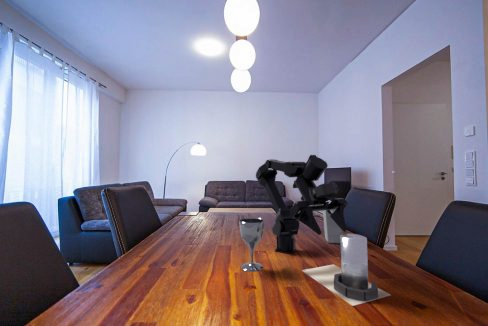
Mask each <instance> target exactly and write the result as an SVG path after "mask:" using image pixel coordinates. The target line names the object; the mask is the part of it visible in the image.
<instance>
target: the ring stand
mask: <svg viewBox="0 0 488 326" xmlns="http://www.w3.org/2000/svg"><path fill="white" fill-rule="evenodd" d="M301 272H303V273H304V274H305V275H307V276H308V277H310V278H312V279H313V280H315V281H316V282H317V283H319V284H320V285H322V286H323V287H325V288H326V289H328V290H329V291H330V292H332V293H333V294H334V295H336V296H337V297H339V298H340V299H342V300H343V301H345V302H346V303H347V304H349V305H350V306H352V307H354V306H358V305H361V304H365V303H369V302H372V301H375V300H378V299H379V300H380V299H382V298H386V297H390V296H391V294H390V293H389V292H387V291H384V289H381V288H378V284H377V282H376V281H370V282H368V289H365V290H360V289H355V288H350V287H347V286H345V285H344V284H342V275H341V267H339V266H337V265H335V264H334V263H333V264H329V265H328V264H327V265H323V266H319V267H318V266H317V267H313V268H306V269H302V270H301Z"/></svg>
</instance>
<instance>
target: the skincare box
mask: <svg viewBox="0 0 488 326" xmlns="http://www.w3.org/2000/svg"><path fill="white" fill-rule="evenodd" d="M330 215H331V214H329V213H328V212H327V210H324V211H322V216H323V228H324V239H325V241H327V243H329V244H341V239H340V235H342V234H343V230H342V229H341V228H340V227H339V226H338V225H337V224H336V223H335V222H334V220H333V219H332V218H331V217H330Z"/></svg>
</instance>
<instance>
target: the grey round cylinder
mask: <svg viewBox="0 0 488 326" xmlns="http://www.w3.org/2000/svg"><path fill="white" fill-rule="evenodd" d="M340 239H341V243H340V266H341V267H340V268H341V275H342V284H344V285H345V286H347V287H350V288H355V289H360V290H365V289H368V283H369V267H368V266H369V263H368V260H369V259H368V238H367V237H366V236H364V235H362V234H357V233H342V235H340Z"/></svg>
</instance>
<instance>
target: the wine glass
mask: <svg viewBox="0 0 488 326" xmlns="http://www.w3.org/2000/svg"><path fill="white" fill-rule="evenodd" d="M264 222H265V219H264V218H261V217H244V218H241V219H239V232H240V236H241V237H240V238H241V239H242V240H243V242H244V243H245V244H246V245H247V246H248V248H249V253H250V262H245V263H242V265H240V268H241V270H243V271H245V272H251V273H255V272H256V273H257V272H259V271H262V270H263V269H264V265H263V264H262V263H259V262H255V261H254V253H255V248H256V247H257V245H258V244H259V242H260V241H261V240H262V239H263V235H264V227H265V223H264Z"/></svg>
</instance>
